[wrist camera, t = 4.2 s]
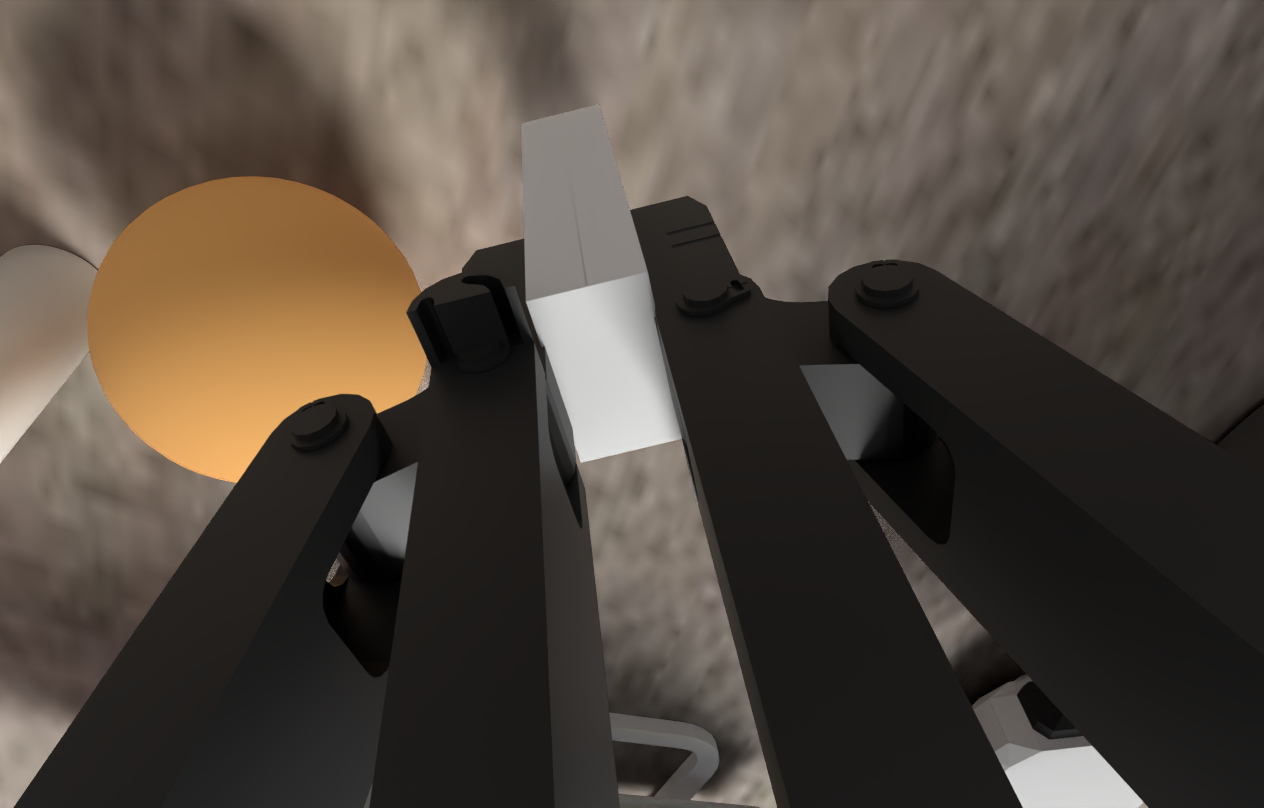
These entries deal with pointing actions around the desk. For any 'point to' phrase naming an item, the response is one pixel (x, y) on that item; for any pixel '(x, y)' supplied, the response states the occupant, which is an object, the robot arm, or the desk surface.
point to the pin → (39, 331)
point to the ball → (248, 317)
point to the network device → (697, 769)
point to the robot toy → (1047, 752)
